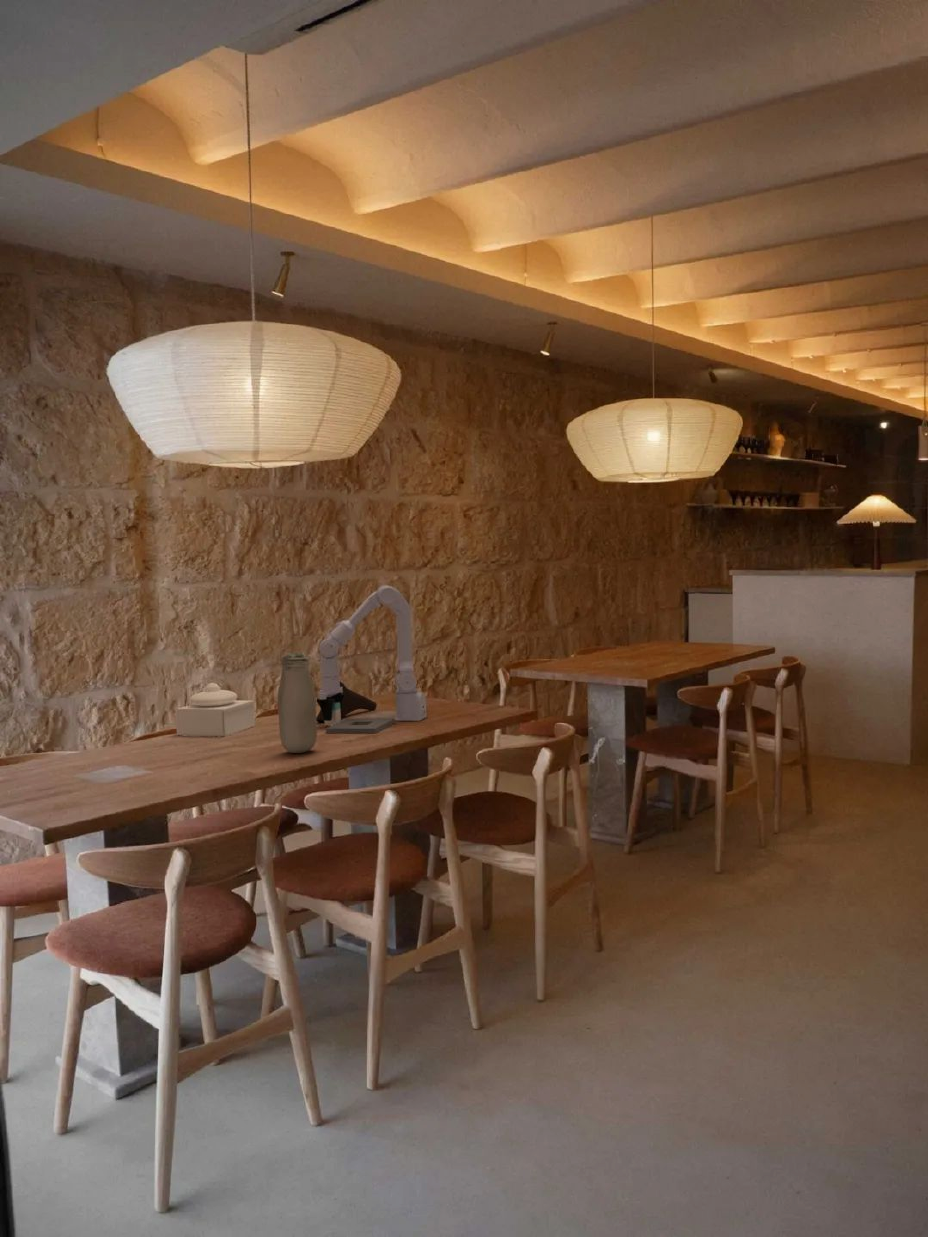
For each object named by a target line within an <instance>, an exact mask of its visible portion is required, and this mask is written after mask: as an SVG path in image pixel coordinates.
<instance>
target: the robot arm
mask: <svg viewBox="0 0 928 1237" xmlns="http://www.w3.org/2000/svg"><path fill="white" fill-rule="evenodd" d="M381 604H382V605H384V606H385V607H388V608H389V609H390V610H392V611H393V612H394V613H395V614H396V634H397V635H396V639H397V640H396V642H397V645H396V646H397V670H396V674H395V676H394V682H395V685H396V686H397V689H396V690H394V691H395V692H394V694H395V695H394V696H395V711H396V717H394V718H395V722H396V721H404V722H405V721H412V722H413V721H415V722H416V721H418V722H419V721H423V720H424V719H425V718H427V717H428V715H427V702H426V701H427V699H426V694H425V693H424V692H423V691H418V688H417V684H418V680H417V678H416V676H415V672H414V669H415V668H414V664H413V663H414V662H413V640H412V638H413V637H412V608H411V606H410V604H409V603H408V602H407V600H406V599H405V597H404V596H403V594H402V593H401V592H400V591H399V590H398V589H397V588H395V587H394V586H392V585H389V584H384V585H380V586H379V587H378V588H377V590H376V591H374V592H373V593H371V594H370V595H369V596H367V598H365V600H364V601H363V602H362V603H361V604H360V606H358V608H357V609H356V610H355V611H354V613H353V614H352V615H351V616H350V617H349V618H348V619H347V620H341V621H340V622H339V621H338V622H336V623H335V628H333V629H332V631H331V632H330V633H329V634H328V633H327V634H326V635H325V639H323V640H322V641H321V642H320V643H319V645H318V646H319V647H318V651H319V653H320V677H321V678H320V680H321V689H320V690H319V689H318V694H319V698H316V704H318V707H319V708H320V710H321V711H322V714H323V717H324V720H325V721H331V719H332V709H333V704H334V702H340V712H341V710H342V705H343V701H344V699H345V697H346V694H341V693H343V690H342V687H340V682H341V681H340V671H339V670H340V667H339V661H338V653H339V648H342V647H343V646H344V645H346V644H347V642H348V641H349V640H350V639H351V638H352V636H354V634H355V633H356V627H357V625H358V624H359V623H360V622H361V621H362V620H363V619H364V618H365V617H366V616H367V615H368V614H370V612H371V611H372V610H375V609H378V608H380V607H382V605H381ZM339 681H340V682H339Z"/></svg>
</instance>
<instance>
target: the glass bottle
mask: <svg viewBox="0 0 928 1237" xmlns="http://www.w3.org/2000/svg"><path fill="white" fill-rule="evenodd" d="M277 710H278V724H279V725H278V726H279V738H280V743H281V745H282V747H283V749H285V750H286V751H287V752H289V753H293V754H302V753H307V752H309V751H311V750H312V749H313V748H314V747H315V744H316V742H317V737H318V727H317V726H318V725H317V724H318V723H317V721H316V718H317V696H316V692H315V687H314V684H313V681H312V677H311V674H310V660H309V658H308V656H307V654H305V652H302V651H292V652H288V653H286V654H285V655H283V657H282V659H281V676H280V682H279V686H278V692H277Z"/></svg>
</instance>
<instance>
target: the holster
mask: <svg viewBox="0 0 928 1237" xmlns="http://www.w3.org/2000/svg"><path fill="white" fill-rule="evenodd" d="M339 682H340V687H342V690H343V693H341V694H346V697H345V699H344V701H343V705H342V710H341V719H343V718H345V717H346V716H347V715H348V714H351V713H353V712H354V711H357V710H367V711H371V710H372V711H375V710H376V709H377V706H378V705H377V702H376V701H373V700H372V699H369V698H368V697H366V696H363V695H361V694H359V693H357V692H355V691H353V690H351V689H350V688H348V687H347V686H346V685H345V684H344V683H343V682H342V681H341V680H339ZM316 721H317V722H318V723H322V722H324V717H323V714H322V711H321V709H320V710H319V711H318V714H317V715H316ZM321 721H322V722H321Z"/></svg>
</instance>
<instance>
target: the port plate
mask: <svg viewBox="0 0 928 1237" xmlns="http://www.w3.org/2000/svg"><path fill="white" fill-rule="evenodd" d="M395 718H396V717H392V718H389V717H388V718H386V717H384V718H383V717H382V718H381V717H380V718H379V717H375V718H374V717H372V718H371V717H370V718H366V717H364V718H363V717H361V718H357V717H356V718H355V717H354V718H353V717H351V718H346V719H344V720H341V722H339V723H337V724H335V725H333V726H327V727H326V728H325V733H326V734H373V735H374V734H377V733H380V732H381V731H383V730H385V729H387V728H388V727H390V726H392V725H394V724H395V723H396V721H395ZM393 723H394V724H393Z"/></svg>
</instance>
